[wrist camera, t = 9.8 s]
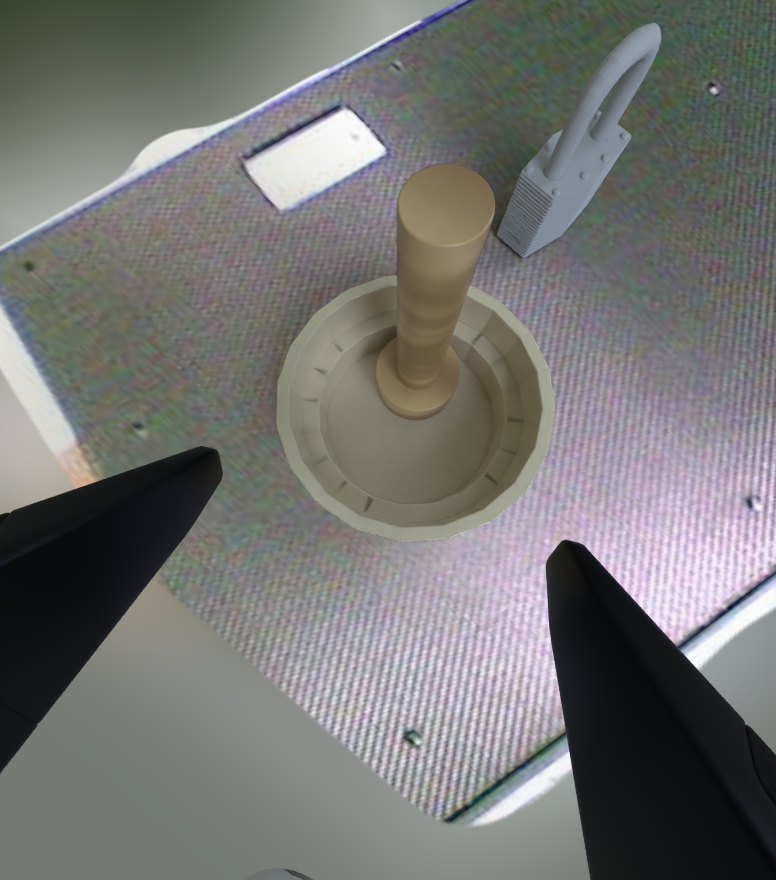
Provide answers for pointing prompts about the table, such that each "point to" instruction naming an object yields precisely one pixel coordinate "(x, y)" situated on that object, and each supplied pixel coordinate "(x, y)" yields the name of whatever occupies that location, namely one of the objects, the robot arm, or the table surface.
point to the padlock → (578, 149)
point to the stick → (432, 285)
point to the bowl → (413, 441)
